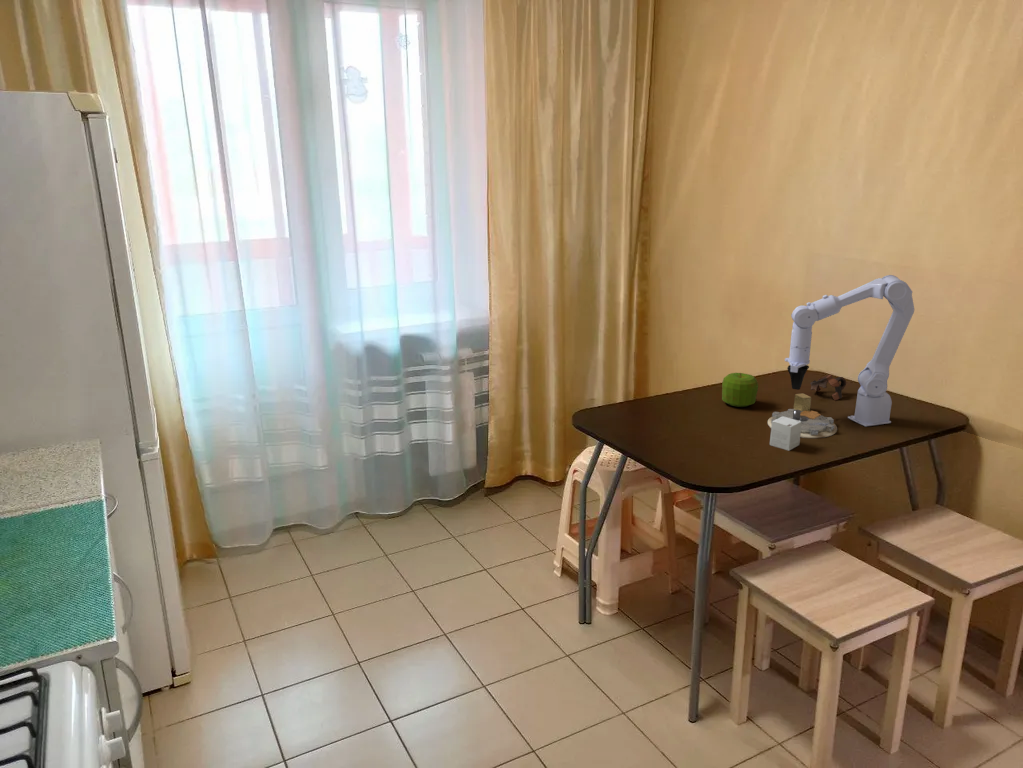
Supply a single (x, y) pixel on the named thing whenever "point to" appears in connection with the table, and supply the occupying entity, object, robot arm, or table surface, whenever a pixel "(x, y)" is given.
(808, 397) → the wooden block
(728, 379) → the apple
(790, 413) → the sprocket
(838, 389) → the brown irregular piece
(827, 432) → the base plate
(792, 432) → the skincare box
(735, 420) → the table surface
